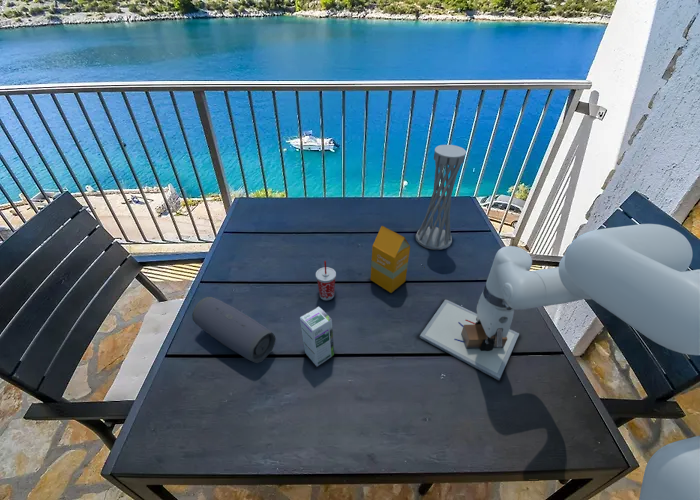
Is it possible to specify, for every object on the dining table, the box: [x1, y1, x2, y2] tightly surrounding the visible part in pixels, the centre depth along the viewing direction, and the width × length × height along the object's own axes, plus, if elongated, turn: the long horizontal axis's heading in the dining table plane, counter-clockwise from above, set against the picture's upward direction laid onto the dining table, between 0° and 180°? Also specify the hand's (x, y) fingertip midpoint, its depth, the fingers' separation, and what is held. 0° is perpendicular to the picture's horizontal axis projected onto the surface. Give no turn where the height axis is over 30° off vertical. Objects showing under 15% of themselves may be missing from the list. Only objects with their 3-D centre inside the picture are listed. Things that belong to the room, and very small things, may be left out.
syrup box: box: [299, 306, 335, 367], centre depth 88 cm, size 6×6×14 cm
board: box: [419, 299, 520, 381], centre depth 96 cm, size 22×17×1 cm
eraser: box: [461, 324, 507, 349], centre depth 93 cm, size 5×10×4 cm, turn 92°
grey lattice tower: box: [415, 144, 467, 250], centre depth 122 cm, size 14×13×35 cm
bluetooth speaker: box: [191, 296, 276, 364], centre depth 93 cm, size 23×9×10 cm, turn 57°
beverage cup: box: [315, 260, 337, 301], centre depth 105 cm, size 6×6×14 cm
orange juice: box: [370, 225, 411, 294], centre depth 108 cm, size 8×9×20 cm
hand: (482, 340), depth 94 cm, fingers closed on eraser, 5 cm apart
